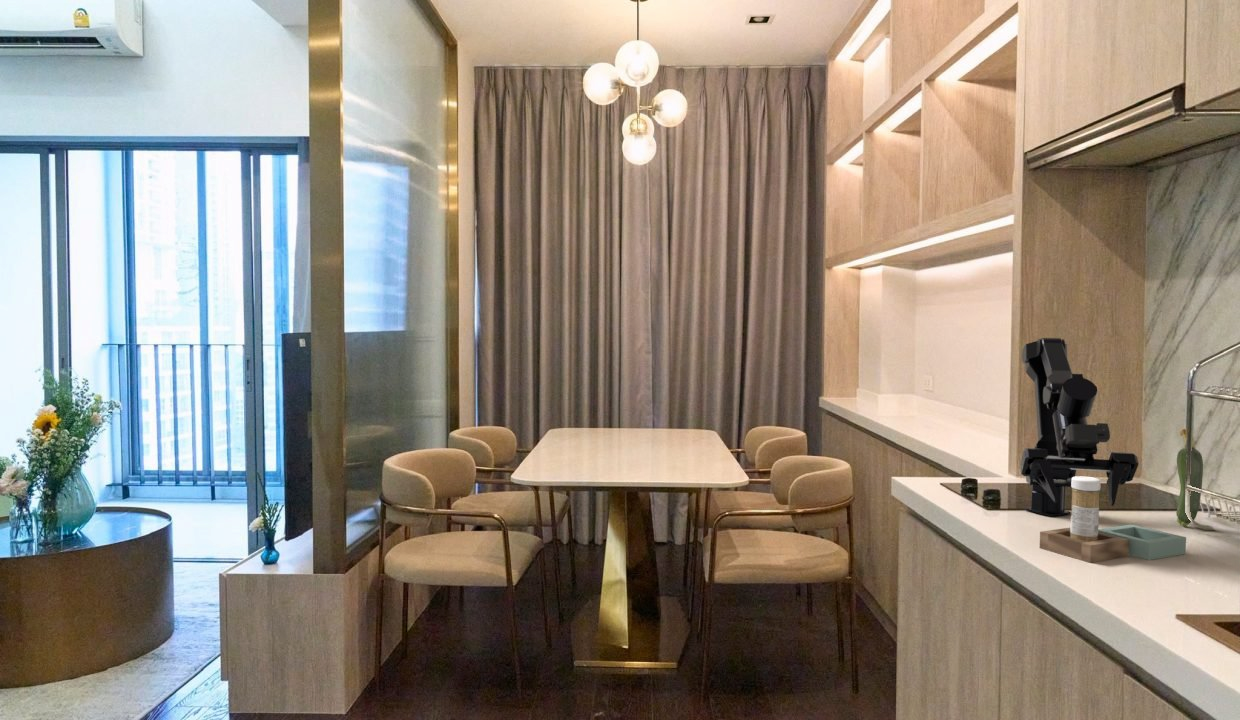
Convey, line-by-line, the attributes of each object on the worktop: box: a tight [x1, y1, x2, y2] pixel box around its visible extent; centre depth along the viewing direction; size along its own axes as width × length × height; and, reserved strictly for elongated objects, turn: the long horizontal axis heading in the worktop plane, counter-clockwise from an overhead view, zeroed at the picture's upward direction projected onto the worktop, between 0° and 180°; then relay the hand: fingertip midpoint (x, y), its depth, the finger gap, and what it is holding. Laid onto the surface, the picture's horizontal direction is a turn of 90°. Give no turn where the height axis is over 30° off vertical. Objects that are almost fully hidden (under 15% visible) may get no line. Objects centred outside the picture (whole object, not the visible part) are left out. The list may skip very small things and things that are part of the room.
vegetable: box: [1175, 428, 1204, 528], centre depth 168 cm, size 4×4×20 cm
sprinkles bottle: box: [1069, 475, 1101, 542], centre depth 150 cm, size 5×5×13 cm
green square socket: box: [1098, 524, 1187, 561], centre depth 152 cm, size 10×10×3 cm
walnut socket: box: [1039, 527, 1130, 563], centre depth 150 cm, size 10×10×3 cm
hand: (1084, 502), depth 150 cm, fingers open, 9 cm apart
